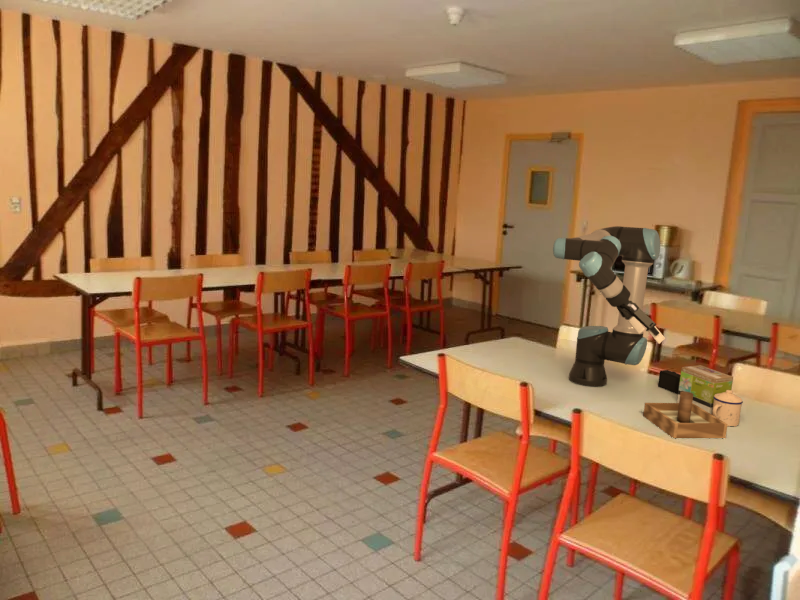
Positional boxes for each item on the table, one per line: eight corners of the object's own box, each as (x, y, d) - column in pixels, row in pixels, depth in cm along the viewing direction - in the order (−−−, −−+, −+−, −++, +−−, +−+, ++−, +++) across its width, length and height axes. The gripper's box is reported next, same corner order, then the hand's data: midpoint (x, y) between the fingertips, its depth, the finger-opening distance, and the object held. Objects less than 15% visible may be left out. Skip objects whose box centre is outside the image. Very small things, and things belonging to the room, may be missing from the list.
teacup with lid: (720, 416, 225) (724, 385, 223) (744, 424, 217) (749, 392, 215) (699, 421, 219) (704, 389, 216) (724, 430, 211) (729, 397, 209)
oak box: (643, 416, 221) (644, 402, 220) (691, 416, 223) (692, 403, 222) (673, 438, 201) (675, 423, 200) (725, 438, 203) (727, 424, 202)
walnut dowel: (673, 424, 214) (678, 391, 212) (684, 424, 214) (689, 391, 212) (680, 429, 210) (684, 395, 208) (691, 429, 210) (695, 395, 208)
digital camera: (688, 393, 250) (690, 376, 248) (678, 394, 247) (680, 377, 246) (667, 385, 259) (669, 369, 258) (657, 386, 257) (659, 370, 255)
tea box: (675, 403, 236) (680, 366, 234) (695, 401, 240) (700, 364, 238) (709, 417, 223) (714, 377, 220) (728, 414, 227) (734, 375, 224)
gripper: (591, 292, 221) (626, 334, 226) (622, 306, 197) (661, 352, 201) (606, 278, 221) (642, 320, 225) (640, 290, 197) (679, 337, 201)
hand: (651, 336), depth 213 cm, fingers open, 13 cm apart
